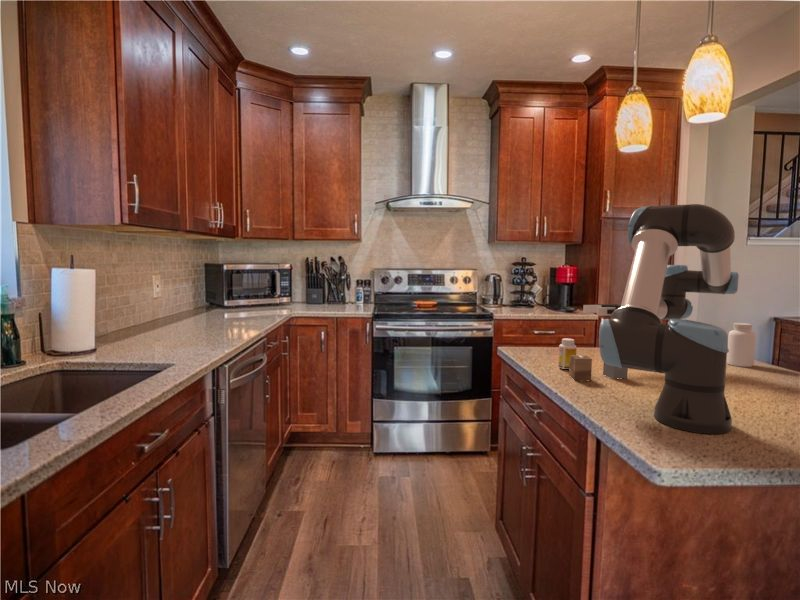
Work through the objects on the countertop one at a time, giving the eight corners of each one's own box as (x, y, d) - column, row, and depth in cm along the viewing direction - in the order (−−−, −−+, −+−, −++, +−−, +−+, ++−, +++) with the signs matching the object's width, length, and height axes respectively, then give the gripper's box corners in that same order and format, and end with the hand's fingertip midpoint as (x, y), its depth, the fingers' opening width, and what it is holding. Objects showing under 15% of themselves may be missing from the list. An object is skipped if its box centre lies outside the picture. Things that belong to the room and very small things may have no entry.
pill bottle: (731, 366, 163) (734, 324, 161) (722, 361, 170) (725, 321, 169) (757, 368, 160) (761, 325, 159) (747, 363, 168) (750, 322, 167)
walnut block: (590, 381, 141) (592, 358, 140) (574, 380, 141) (575, 357, 141) (585, 377, 146) (586, 354, 145) (569, 376, 146) (570, 354, 146)
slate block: (627, 379, 144) (628, 356, 144) (613, 379, 143) (614, 357, 143) (616, 375, 149) (617, 353, 148) (602, 375, 148) (604, 353, 147)
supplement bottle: (578, 369, 156) (580, 339, 155) (570, 371, 153) (571, 341, 152) (563, 366, 161) (565, 337, 160) (555, 368, 157) (556, 338, 156)
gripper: (670, 323, 152) (608, 325, 147) (628, 316, 171) (573, 317, 166) (671, 301, 151) (610, 302, 147) (629, 296, 171) (574, 296, 166)
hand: (590, 310), depth 157 cm, fingers open, 7 cm apart
